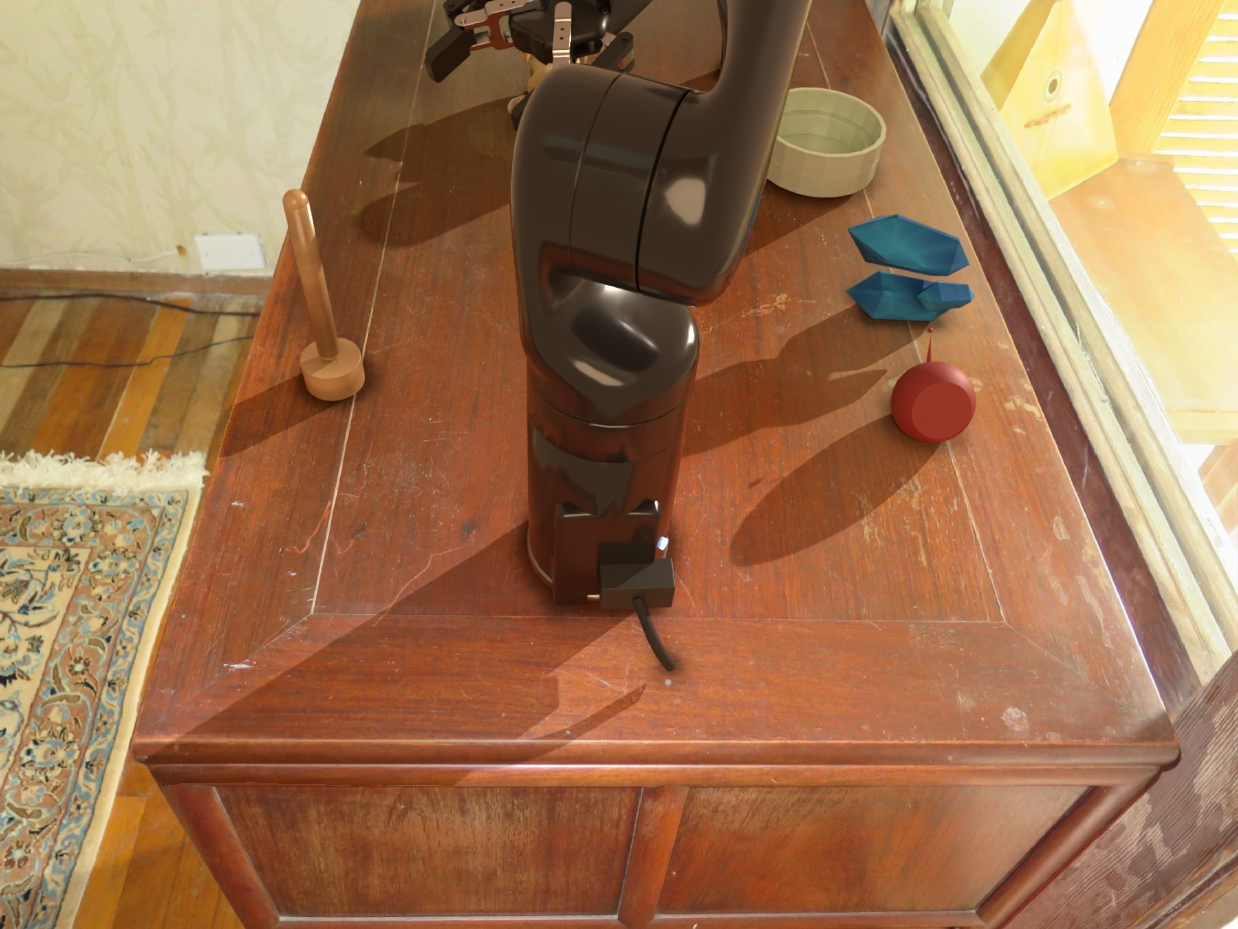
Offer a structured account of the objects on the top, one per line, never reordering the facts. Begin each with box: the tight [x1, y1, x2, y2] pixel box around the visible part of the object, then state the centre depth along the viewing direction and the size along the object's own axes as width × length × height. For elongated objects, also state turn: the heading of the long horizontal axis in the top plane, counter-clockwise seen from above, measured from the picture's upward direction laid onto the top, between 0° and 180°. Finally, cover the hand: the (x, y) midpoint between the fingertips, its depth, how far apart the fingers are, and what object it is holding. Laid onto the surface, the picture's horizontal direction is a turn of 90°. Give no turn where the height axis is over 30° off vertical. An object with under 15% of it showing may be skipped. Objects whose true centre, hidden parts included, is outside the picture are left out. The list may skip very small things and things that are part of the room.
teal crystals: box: [845, 213, 975, 322], centre depth 82 cm, size 7×9×12 cm
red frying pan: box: [890, 327, 977, 444], centre depth 75 cm, size 6×6×8 cm
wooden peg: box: [282, 188, 366, 402], centre depth 69 cm, size 4×4×17 cm
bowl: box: [767, 86, 887, 198], centre depth 96 cm, size 12×12×5 cm
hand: (472, 97), depth 71 cm, fingers open, 8 cm apart
